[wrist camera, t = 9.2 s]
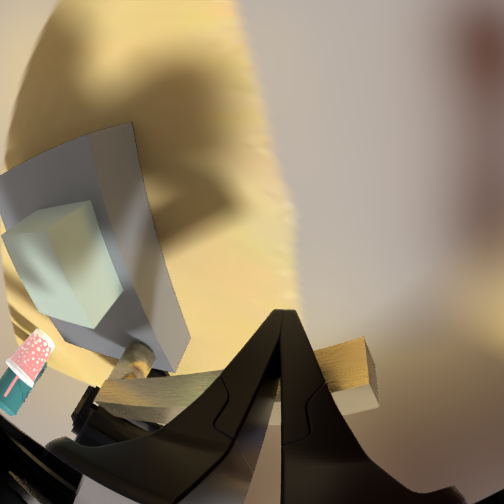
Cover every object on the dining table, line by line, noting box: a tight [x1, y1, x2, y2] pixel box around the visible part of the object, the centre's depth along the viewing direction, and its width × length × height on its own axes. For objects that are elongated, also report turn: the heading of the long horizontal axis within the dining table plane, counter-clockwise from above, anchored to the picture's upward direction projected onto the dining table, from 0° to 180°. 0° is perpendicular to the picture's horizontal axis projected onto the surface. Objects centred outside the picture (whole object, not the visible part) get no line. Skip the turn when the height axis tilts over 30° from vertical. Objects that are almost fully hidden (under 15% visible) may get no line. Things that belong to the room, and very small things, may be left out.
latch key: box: [94, 337, 380, 425], centre depth 13 cm, size 17×2×6 cm, turn 121°
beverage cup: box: [4, 328, 55, 397], centre depth 28 cm, size 6×6×14 cm
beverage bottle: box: [0, 362, 47, 416], centre depth 29 cm, size 6×7×20 cm
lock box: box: [0, 122, 191, 373], centre depth 18 cm, size 18×14×4 cm
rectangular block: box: [1, 200, 124, 329], centre depth 13 cm, size 6×6×4 cm
